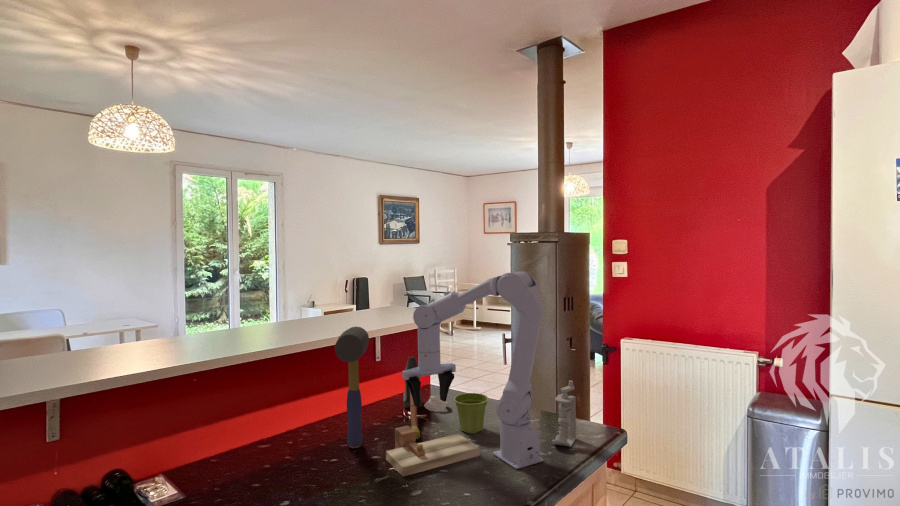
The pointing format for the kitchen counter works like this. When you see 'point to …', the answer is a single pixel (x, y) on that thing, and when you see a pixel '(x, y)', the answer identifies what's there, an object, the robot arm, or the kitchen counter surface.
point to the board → (432, 454)
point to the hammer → (409, 400)
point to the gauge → (408, 440)
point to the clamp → (566, 417)
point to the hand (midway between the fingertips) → (430, 403)
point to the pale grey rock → (436, 404)
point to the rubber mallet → (353, 378)
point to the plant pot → (471, 411)
